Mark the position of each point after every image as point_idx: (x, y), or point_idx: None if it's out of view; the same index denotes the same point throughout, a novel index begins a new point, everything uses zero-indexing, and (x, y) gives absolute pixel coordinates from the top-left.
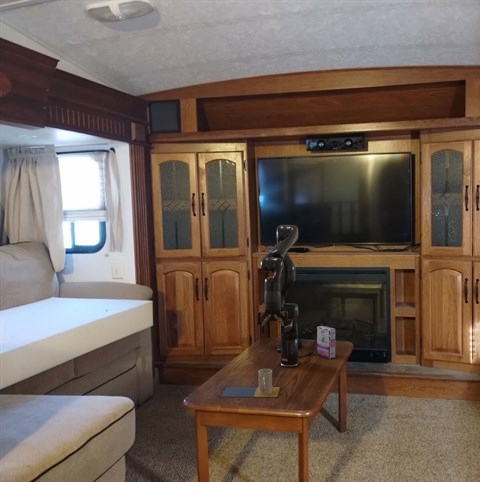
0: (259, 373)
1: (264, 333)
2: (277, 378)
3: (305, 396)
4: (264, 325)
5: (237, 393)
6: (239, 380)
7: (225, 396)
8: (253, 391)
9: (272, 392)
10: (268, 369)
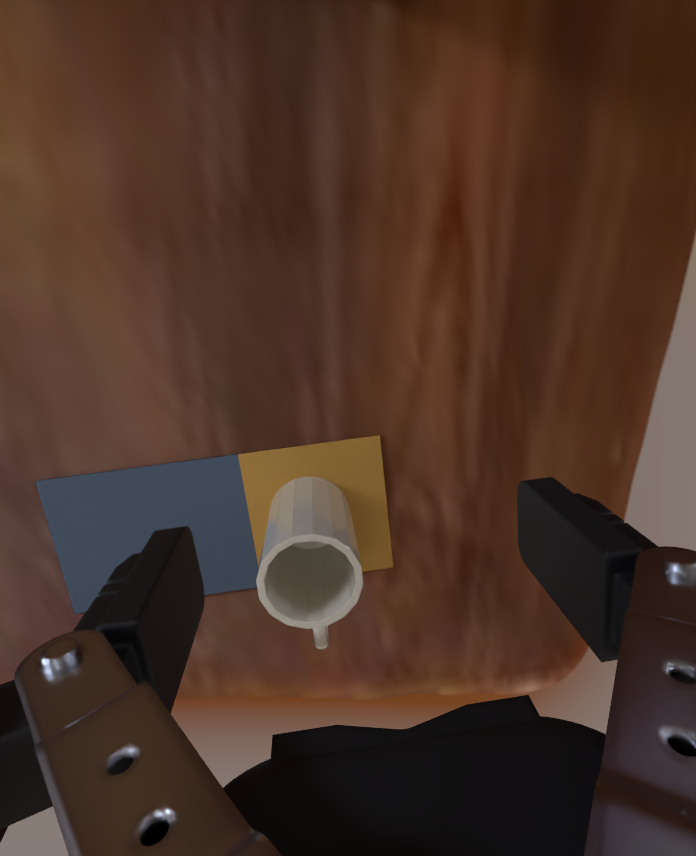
0: (275, 613)
1: (203, 602)
2: (328, 273)
3: None
4: (137, 662)
5: None
6: (66, 347)
7: None
8: (237, 521)
9: (353, 518)
10: (325, 543)
